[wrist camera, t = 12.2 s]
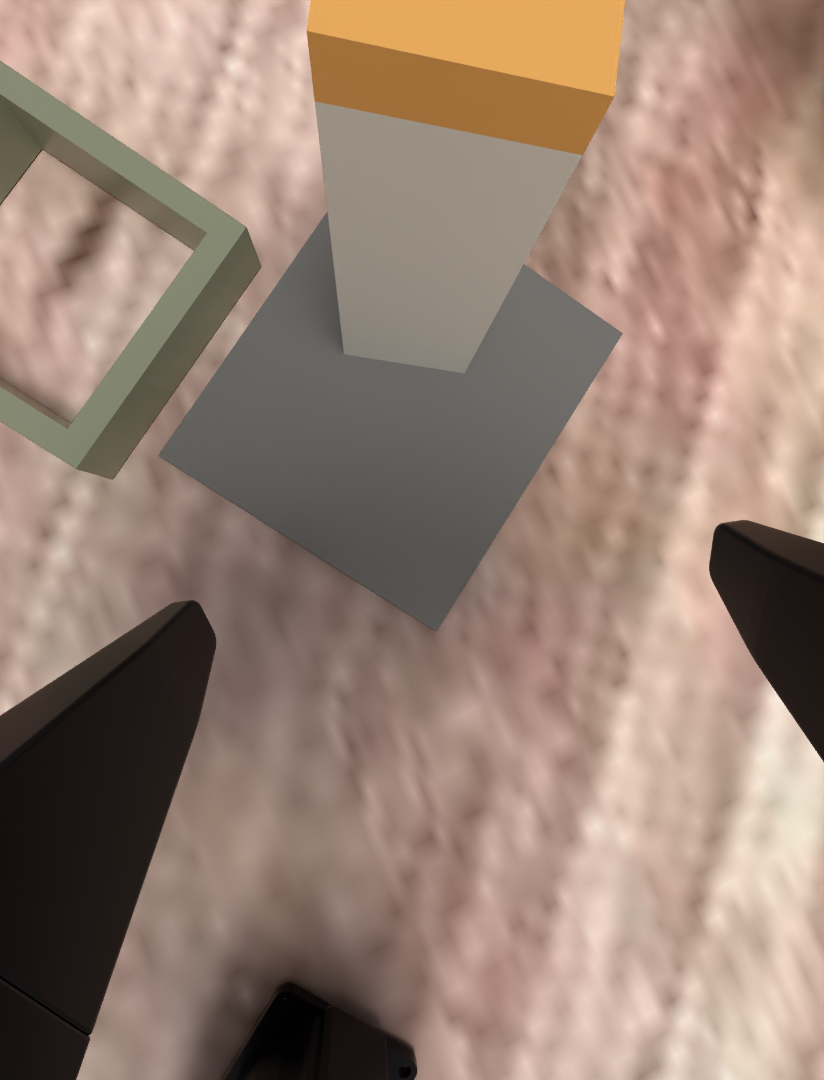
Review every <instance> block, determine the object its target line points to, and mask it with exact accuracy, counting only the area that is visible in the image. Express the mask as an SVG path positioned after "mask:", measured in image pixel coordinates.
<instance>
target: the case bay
mask: <svg viewBox="0 0 824 1080" xmlns="http://www.w3.org/2000/svg"><path fill="white" fill-rule="evenodd" d="M41 149H43V150H44V151H46V152H47V153H49V154H50V155H52V156H53V157H55V158H56V159H58V160H59V161H61V162H62V163H64V164H65V165H67V166H68V167H70V168H71V169H73V170H74V171H76V172H77V173H79V174H80V175H82V176H83V177H85V178H86V179H88V180H89V181H91V182H92V183H94V184H95V185H97V186H98V187H100V188H101V189H103V190H104V191H106V192H107V193H109V194H110V195H112V196H113V197H115V198H116V199H118V200H119V201H121V202H122V203H124V204H125V205H127V206H128V207H130V208H131V209H133V210H134V211H136V212H137V213H139V214H140V215H142V216H143V217H145V218H146V219H148V220H149V221H151V222H152V223H154V224H155V225H157V226H158V227H160V228H161V229H163V230H164V231H166V232H167V233H169V234H170V235H172V236H173V237H175V238H176V239H178V240H179V241H181V242H182V243H184V244H185V245H187V246H188V247H190V248H191V249H193V250H194V252H193V254H192V255H191V256H190V258H189V259H188V261H187V262H186V263H185V265H184V266H183V268H182V269H181V271H180V272H179V273H178V275H177V276H176V278H175V279H174V280H173V282H172V283H171V285H170V286H169V287H168V289H167V290H166V292H165V293H164V294H163V296H162V297H161V299H160V300H159V301H158V303H157V304H156V306H155V307H154V308H153V310H152V311H151V313H150V314H149V315H148V317H147V318H146V320H145V321H144V322H143V324H142V325H141V327H140V328H139V329H138V331H137V332H136V334H135V335H134V336H133V338H132V339H131V341H130V342H129V343H128V345H127V346H126V348H125V349H124V351H123V352H122V353H121V355H120V356H119V358H118V359H117V360H116V362H115V363H114V365H113V366H112V367H111V369H110V370H109V372H108V373H107V374H106V376H105V377H104V379H103V380H102V381H101V383H100V384H99V386H98V387H97V388H96V390H95V391H94V393H93V394H92V395H91V397H90V398H89V400H88V401H87V402H86V404H85V405H84V407H83V408H82V409H81V411H80V412H79V414H78V415H77V416H76V418H75V419H74V421H73V422H72V423H70V422H68V421H67V420H65V419H63V418H62V417H60V416H59V415H57V414H56V413H54V412H52V411H51V410H49V409H48V408H46V407H44V406H43V405H41V404H40V403H38V402H37V401H35V400H33V399H32V398H30V397H29V396H27V395H25V394H24V393H22V392H21V391H19V390H18V389H16V388H14V387H13V386H11V385H10V384H8V383H6V382H5V381H3V380H2V379H0V422H2V423H4V424H5V425H7V426H8V427H10V428H12V429H13V430H15V431H16V432H18V433H20V434H21V435H23V436H24V437H26V438H28V439H29V440H31V441H32V442H34V443H36V444H37V445H39V446H40V447H42V448H44V449H45V450H47V451H48V452H50V453H52V454H53V455H55V456H56V457H58V458H60V459H61V460H63V461H64V462H66V463H68V464H69V465H71V466H72V467H74V468H76V469H79V470H82V471H85V472H89V473H92V474H96V475H99V476H103V477H106V478H109V479H113V478H114V477H115V475H116V474H117V472H118V471H119V470H120V468H121V467H122V465H123V464H124V462H125V461H126V460H127V458H128V457H129V455H130V454H131V452H132V451H133V450H134V448H135V447H136V445H137V444H138V442H139V441H140V439H141V438H142V437H143V435H144V434H145V432H146V431H147V429H148V428H149V427H150V425H151V424H152V422H153V421H154V419H155V418H156V417H157V415H158V414H159V412H160V411H161V409H162V408H163V407H164V405H165V404H166V402H167V401H168V399H169V398H170V397H171V395H172V394H173V392H174V391H175V389H176V388H177V387H178V385H179V384H180V382H181V381H182V379H183V378H184V376H185V375H186V374H187V372H188V371H189V369H190V368H191V366H192V365H193V364H194V362H195V361H196V359H197V358H198V356H199V355H200V354H201V352H202V351H203V349H204V348H205V346H206V345H207V344H208V342H209V341H210V339H211V338H212V336H213V335H214V334H215V332H216V331H217V329H218V328H219V326H220V325H221V323H222V322H223V321H224V319H225V318H226V316H227V315H228V313H229V312H230V311H231V309H232V308H233V306H234V305H235V303H236V302H237V301H238V299H239V298H240V296H241V295H242V293H243V292H244V291H245V289H246V288H247V286H248V285H249V283H250V282H251V281H252V279H253V278H254V276H255V275H256V273H257V272H258V271H259V269H260V268H261V265H260V262H259V259H258V257H257V254H256V251H255V249H254V246H253V243H252V240H251V238H250V235H249V232H248V230H247V227H246V226H244V225H243V224H241V223H240V222H238V221H237V220H235V219H234V218H232V217H231V216H229V215H228V214H227V213H225V212H224V211H222V210H221V209H219V208H218V207H216V206H215V205H213V204H212V203H210V202H209V201H207V200H206V199H204V198H203V197H201V196H200V195H198V194H197V193H195V192H194V191H192V190H191V189H190V188H188V187H187V186H185V185H184V184H182V183H181V182H179V181H178V180H176V179H175V178H173V177H172V176H170V175H169V174H167V173H166V172H164V171H163V170H161V169H160V168H158V167H157V166H155V165H154V164H152V163H151V162H150V161H148V160H147V159H145V158H144V157H142V156H141V155H139V154H138V153H136V152H135V151H133V150H132V149H130V148H129V147H127V146H126V145H124V144H123V143H121V142H120V141H118V140H117V139H115V138H114V137H113V136H111V135H110V134H108V133H107V132H105V131H104V130H102V129H101V128H99V127H98V126H96V125H95V124H93V123H92V122H90V121H89V120H87V119H86V118H84V117H83V116H81V115H80V114H78V113H77V112H76V111H74V110H73V109H71V108H70V107H68V106H67V105H65V104H64V103H62V102H61V101H59V100H58V99H56V98H55V97H53V96H52V95H50V94H49V93H47V92H46V91H44V90H43V89H41V88H40V87H39V86H37V85H36V84H34V83H33V82H31V81H30V80H28V79H27V78H25V77H24V76H22V75H21V74H19V73H18V72H16V71H15V70H13V69H12V68H10V67H9V66H7V65H6V64H4V63H3V62H2V61H0V204H1V202H2V201H3V200H4V198H5V197H6V196H7V195H8V193H9V192H10V191H11V189H12V188H13V187H14V185H15V184H16V183H17V181H18V180H19V179H20V177H21V176H22V175H23V173H24V172H25V171H26V169H27V168H28V167H29V165H30V164H31V163H32V161H33V160H34V159H35V157H36V156H37V155H38V153H39V152H40V151H41Z"/></svg>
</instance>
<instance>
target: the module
mask: <svg viewBox="0 0 824 1080" xmlns="http://www.w3.org/2000/svg"><path fill="white" fill-rule="evenodd" d="M624 6H625V0H311V3H310V11H309V18H308V25H307V37H308V46H309V55H310V63H311V72H312V81H313V89H314V98H315V107H316V116H317V124H318V133H319V142H320V150H321V159H322V168H323V176H324V185H325V194H326V202H327V211H328V220H329V228H330V237H331V246H332V255H333V263H334V272H335V281H336V289H337V298H338V307H339V315H340V324H341V333H342V341H343V350H344V354H345V355H351V356H358V357H364V358H370V359H377V360H383V361H389V362H396V363H402V364H408V365H415V366H421V367H427V368H433V369H440V370H446V371H452V372H459V373H465V371H466V370H467V368H468V366H469V364H470V362H471V360H472V358H473V357H474V355H475V353H476V351H477V349H478V347H479V346H480V344H481V342H482V340H483V338H484V336H485V334H486V333H487V331H488V329H489V327H490V325H491V323H492V322H493V320H494V318H495V316H496V314H497V312H498V310H499V309H500V307H501V305H502V303H503V301H504V299H505V298H506V296H507V294H508V292H509V290H510V288H511V286H512V285H513V283H514V281H515V279H516V277H517V275H518V274H519V272H520V270H521V268H522V266H523V264H524V262H525V261H526V259H527V257H528V255H529V253H530V251H531V250H532V248H533V246H534V244H535V242H536V240H537V238H538V237H539V235H540V233H541V231H542V229H543V227H544V226H545V224H546V222H547V220H548V218H549V216H550V214H551V213H552V211H553V209H554V207H555V205H556V203H557V202H558V200H559V198H560V196H561V194H562V192H563V190H564V189H565V187H566V185H567V183H568V181H569V179H570V178H571V176H572V174H573V172H574V170H575V168H576V166H577V165H578V163H579V161H580V159H581V157H582V155H583V153H584V152H585V150H586V148H587V146H588V144H589V142H590V141H591V139H592V137H593V135H594V133H595V131H596V129H597V128H598V126H599V124H600V122H601V120H602V118H603V117H604V115H605V113H606V111H607V109H608V107H609V105H610V104H611V102H612V100H613V98H614V96H615V87H616V78H617V69H618V60H619V51H620V42H621V33H622V24H623V15H624Z"/></svg>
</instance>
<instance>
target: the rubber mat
mask: <svg viewBox="0 0 824 1080" xmlns="http://www.w3.org/2000/svg"><path fill="white" fill-rule="evenodd" d="M622 334H623V333H622V332H620V331H619V330H617V329H616V328H614V327H613V326H611V325H610V324H609V323H607V322H606V321H604V320H603V319H601V318H600V317H599V316H597V315H596V314H594V313H593V312H591V311H590V310H589V309H587V308H586V307H584V306H583V305H581V304H580V303H579V302H577V301H576V300H574V299H573V298H571V297H570V296H569V295H567V294H566V293H564V292H563V291H561V290H560V289H558V288H557V287H556V286H554V285H553V284H551V283H550V282H548V281H547V280H546V279H544V278H543V277H541V276H540V275H538V274H537V273H536V272H534V271H533V270H531V269H530V268H528V267H527V266H526V265H524V264H523V266H522V268H521V270H520V272H519V274H518V275H517V277H516V279H515V281H514V283H513V285H512V286H511V288H510V290H509V292H508V294H507V296H506V298H505V299H504V301H503V303H502V305H501V307H500V309H499V310H498V312H497V314H496V316H495V318H494V320H493V322H492V323H491V325H490V327H489V329H488V331H487V333H486V334H485V336H484V338H483V340H482V342H481V344H480V346H479V347H478V349H477V351H476V353H475V355H474V357H473V358H472V360H471V362H470V364H469V366H468V368H467V370H466V371H465V373H459V372H452V371H446V370H440V369H433V368H427V367H421V366H415V365H408V364H402V363H396V362H389V361H383V360H377V359H370V358H364V357H358V356H351V355H345V354H344V350H343V341H342V333H341V324H340V315H339V307H338V298H337V289H336V281H335V272H334V263H333V255H332V246H331V237H330V228H329V220H328V212H327V213H326V215H325V216H324V217H323V219H322V220H321V222H320V223H319V225H318V226H317V228H316V229H315V230H314V232H313V233H312V235H311V236H310V238H309V239H308V241H307V242H306V243H305V245H304V246H303V248H302V249H301V251H300V252H299V254H298V255H297V256H296V258H295V259H294V261H293V262H292V264H291V265H290V267H289V268H288V269H287V271H286V272H285V274H284V275H283V277H282V278H281V280H280V281H279V282H278V284H277V285H276V287H275V288H274V290H273V291H272V293H271V294H270V295H269V297H268V298H267V300H266V301H265V303H264V304H263V305H262V307H261V308H260V310H259V311H258V313H257V314H256V316H255V317H254V318H253V320H252V321H251V323H250V324H249V326H248V327H247V329H246V330H245V331H244V333H243V334H242V336H241V337H240V339H239V340H238V342H237V343H236V344H235V346H234V347H233V349H232V350H231V352H230V353H229V355H228V356H227V357H226V359H225V360H224V362H223V363H222V365H221V366H220V368H219V369H218V370H217V372H216V373H215V375H214V376H213V378H212V379H211V380H210V382H209V383H208V385H207V386H206V388H205V389H204V391H203V392H202V393H201V395H200V396H199V398H198V399H197V401H196V402H195V404H194V405H193V406H192V408H191V409H190V411H189V412H188V414H187V415H186V417H185V418H184V419H183V421H182V422H181V424H180V425H179V427H178V428H177V430H176V431H175V432H174V434H173V435H172V437H171V438H170V440H169V441H168V443H167V444H166V445H165V447H164V448H163V450H162V451H161V453H160V454H159V456H160V457H161V458H163V459H164V460H166V461H168V462H169V463H171V464H172V465H174V466H175V467H177V468H179V469H180V470H182V471H183V472H185V473H186V474H188V475H190V476H191V477H193V478H194V479H196V480H197V481H199V482H201V483H202V484H204V485H205V486H207V487H209V488H210V489H212V490H213V491H215V492H216V493H218V494H220V495H221V496H223V497H224V498H226V499H227V500H229V501H231V502H232V503H234V504H235V505H237V506H238V507H240V508H242V509H243V510H245V511H246V512H248V513H250V514H251V515H253V516H254V517H256V518H257V519H259V520H261V521H262V522H264V523H265V524H267V525H268V526H270V527H272V528H273V529H275V530H276V531H278V532H279V533H281V534H283V535H284V536H286V537H287V538H289V539H291V540H292V541H294V542H295V543H297V544H298V545H300V546H302V547H303V548H305V549H306V550H308V551H309V552H311V553H313V554H314V555H316V556H317V557H319V558H320V559H322V560H324V561H325V562H327V563H328V564H330V565H332V566H333V567H335V568H336V569H338V570H339V571H341V572H343V573H344V574H346V575H347V576H349V577H350V578H352V579H354V580H355V581H357V582H358V583H360V584H361V585H363V586H365V587H366V588H368V589H369V590H371V591H373V592H374V593H376V594H377V595H379V596H380V597H382V598H384V599H385V600H387V601H388V602H390V603H391V604H393V605H395V606H396V607H398V608H399V609H401V610H402V611H404V612H406V613H407V614H409V615H410V616H412V617H414V618H415V619H417V620H418V621H420V622H421V623H423V624H425V625H426V626H428V627H429V628H431V629H432V630H434V631H437V630H438V628H439V627H440V625H441V623H442V622H443V620H444V619H445V617H446V615H447V614H448V612H449V611H450V609H451V607H452V606H453V604H454V603H455V601H456V599H457V598H458V596H459V595H460V593H461V591H462V590H463V588H464V587H465V585H466V583H467V582H468V580H469V579H470V577H471V575H472V574H473V572H474V571H475V569H476V567H477V566H478V564H479V563H480V561H481V559H482V558H483V556H484V555H485V553H486V551H487V550H488V548H489V547H490V545H491V543H492V542H493V540H494V539H495V537H496V535H497V534H498V532H499V531H500V529H501V527H502V526H503V524H504V523H505V521H506V519H507V518H508V516H509V515H510V513H511V511H512V510H513V508H514V507H515V505H516V503H517V502H518V500H519V499H520V497H521V495H522V494H523V492H524V491H525V489H526V487H527V486H528V484H529V483H530V481H531V479H532V478H533V476H534V475H535V473H536V471H537V470H538V468H539V467H540V465H541V463H542V462H543V460H544V459H545V457H546V455H547V454H548V452H549V451H550V449H551V447H552V446H553V444H554V443H555V441H556V439H557V438H558V436H559V435H560V433H561V431H562V430H563V428H564V427H565V425H566V423H567V422H568V420H569V419H570V417H571V415H572V414H573V412H574V411H575V409H576V407H577V406H578V404H579V403H580V401H581V399H582V398H583V396H584V395H585V393H586V391H587V390H588V388H589V387H590V385H591V383H592V382H593V380H594V379H595V377H596V375H597V374H598V372H599V371H600V369H601V367H602V366H603V364H604V363H605V361H606V359H607V358H608V356H609V355H610V353H611V351H612V350H613V348H614V347H615V345H616V343H617V342H618V340H619V339H620V337H621V335H622Z"/></svg>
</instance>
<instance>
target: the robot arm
mask: <svg viewBox="0 0 824 1080" xmlns="http://www.w3.org/2000/svg"><path fill="white" fill-rule="evenodd" d="M709 571H710V576H711V579H712V581H713V583H714V585H715V587H716V589H717V591H718V593H719V595H720V597H721V599H722V601H723V602H724V604H725V606H726V608H727V610H728V612H729V614H730V616H731V618H732V620H733V622H734V623H735V625H736V627H737V629H738V631H739V633H740V635H741V637H742V639H743V641H744V643H745V644H746V646H747V648H748V650H749V652H750V653H751V655H752V657H753V658H754V660H755V661H756V663H757V665H758V666H759V668H760V669H761V671H762V672H763V674H764V675H765V677H766V678H767V680H768V681H769V682H770V684H771V685H772V687H773V688H774V690H775V691H776V693H777V694H778V696H779V697H780V699H781V700H782V702H783V703H784V704H785V706H786V707H787V709H788V710H789V712H790V713H791V715H792V716H793V718H794V719H795V721H796V722H797V723H798V725H799V726H800V728H801V729H802V731H803V732H804V734H805V735H806V737H807V738H808V740H809V741H810V743H811V744H812V745H813V747H814V748H815V750H816V751H817V753H818V754H819V756H820V757H821V759H822V760H823V762H824V543H821V542H818V541H814V540H811V539H808V538H804V537H801V536H798V535H794V534H791V533H788V532H785V531H781V530H778V529H775V528H771V527H768V526H765V525H761V524H758V523H755V522H751V521H748V520H740V521H733V522H726V523H721V524H719V525H718V526H717V527H716V529H715V531H714V535H713V542H712V549H711V556H710V563H709ZM215 649H216V636H215V633H214V631H213V629H212V627H211V625H210V623H209V621H208V619H207V617H206V615H205V613H204V611H203V609H202V607H201V606H200V604H199V603H198V602H196V601H194V600H189V601H182V602H175V603H172V604H170V605H169V606H167V607H165V608H164V609H162V610H161V611H159V612H158V613H156V614H155V615H153V616H152V617H150V618H149V619H147V620H146V621H144V622H143V623H141V624H140V625H138V626H136V627H135V628H133V629H132V630H130V631H129V632H127V633H126V634H124V635H123V636H121V637H120V638H118V639H117V640H115V641H114V642H112V643H111V644H109V645H107V646H106V647H104V648H103V649H101V650H100V651H98V652H97V653H95V654H94V655H92V656H91V657H89V658H88V659H86V660H85V661H83V662H82V663H80V664H78V665H77V666H75V667H74V668H72V669H71V670H69V671H68V672H66V673H65V674H63V675H62V676H60V677H59V678H57V679H56V680H54V681H53V682H51V683H49V684H48V685H46V686H45V687H43V688H42V689H40V690H39V691H37V692H36V693H34V694H33V695H31V696H30V697H28V698H27V699H25V700H24V701H22V702H20V703H19V704H17V705H16V706H14V707H13V708H11V709H10V710H8V711H7V712H5V713H4V714H2V715H1V716H0V1080H76V1079H77V1076H78V1073H79V1070H80V1067H81V1064H82V1061H83V1058H84V1055H85V1053H86V1050H87V1047H88V1044H89V1041H90V1037H89V1036H88V1035H90V1034H91V1033H92V1031H93V1028H94V1025H95V1022H96V1019H97V1016H98V1014H99V1011H100V1008H101V1005H102V1002H103V999H104V996H105V993H106V990H107V987H108V984H109V982H110V979H111V976H112V973H113V970H114V967H115V964H116V961H117V958H118V955H119V952H120V950H121V947H122V944H123V941H124V938H125V935H126V932H127V929H128V926H129V923H130V920H131V918H132V915H133V912H134V909H135V906H136V903H137V900H138V897H139V894H140V891H141V888H142V886H143V883H144V880H145V877H146V874H147V871H148V868H149V865H150V862H151V859H152V856H153V853H154V851H155V848H156V845H157V842H158V839H159V836H160V833H161V830H162V827H163V824H164V821H165V819H166V816H167V813H168V810H169V807H170V804H171V801H172V798H173V795H174V792H175V789H176V787H177V784H178V781H179V778H180V775H181V772H182V769H183V766H184V763H185V760H186V757H187V755H188V752H189V749H190V746H191V743H192V740H193V737H194V734H195V731H196V728H197V725H198V721H199V718H200V714H201V710H202V706H203V702H204V697H205V693H206V689H207V684H208V680H209V675H210V671H211V667H212V662H213V658H214V654H215ZM283 998H290V999H291V1001H289V1002H285V1001H283V1000H282V999H283ZM403 1065H408V1066H407V1067H405V1068H402V1067H401V1066H403ZM416 1074H417V1063H416V1056H415V1054H414V1053H413V1052H412V1051H411V1050H410V1049H408V1048H406V1047H404V1046H403V1045H401V1044H399V1043H397V1042H396V1041H394V1040H392V1039H390V1038H389V1037H387V1036H385V1035H383V1034H382V1033H380V1032H378V1031H377V1030H375V1029H373V1028H371V1027H370V1026H368V1025H366V1024H364V1023H363V1022H361V1021H359V1020H357V1019H356V1018H354V1017H352V1016H350V1015H349V1014H347V1013H345V1012H343V1011H341V1010H340V1009H338V1008H336V1007H334V1006H332V1005H331V1004H329V1003H327V1002H325V1001H324V1000H322V999H320V998H318V997H317V996H315V995H313V994H311V993H310V992H308V991H306V990H304V989H303V988H301V987H299V986H297V985H296V984H293V983H290V982H289V983H284V984H282V985H280V986H279V987H278V988H277V989H276V991H275V993H274V994H273V996H272V998H271V999H270V1001H269V1002H268V1004H267V1006H266V1007H265V1009H264V1011H263V1012H262V1014H261V1015H260V1017H259V1019H258V1020H257V1022H256V1024H255V1025H254V1027H253V1028H252V1030H251V1032H250V1033H249V1035H248V1037H247V1038H246V1040H245V1042H244V1043H243V1045H242V1046H241V1048H240V1050H239V1051H238V1053H237V1055H236V1056H235V1058H234V1059H233V1061H232V1063H231V1064H230V1066H229V1068H228V1069H227V1071H226V1072H225V1074H224V1076H223V1077H222V1079H221V1080H414V1079H415V1077H416Z"/></svg>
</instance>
